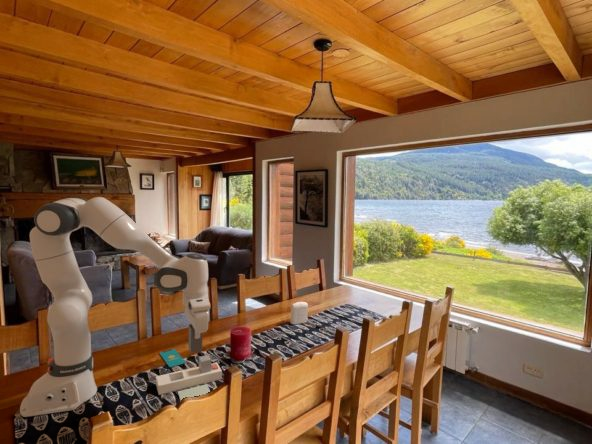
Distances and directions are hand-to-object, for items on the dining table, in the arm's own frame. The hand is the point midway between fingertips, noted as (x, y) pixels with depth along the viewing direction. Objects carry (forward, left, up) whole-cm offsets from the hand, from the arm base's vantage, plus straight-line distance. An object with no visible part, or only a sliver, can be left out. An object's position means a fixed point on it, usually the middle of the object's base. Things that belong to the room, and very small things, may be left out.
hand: (195, 334), depth 124 cm
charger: (0, 0, -6) cm, 6 cm away
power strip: (0, +9, -23) cm, 25 cm away
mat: (0, 0, -23) cm, 23 cm away
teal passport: (-3, +30, -24) cm, 38 cm away
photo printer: (+69, +41, -24) cm, 84 cm away
